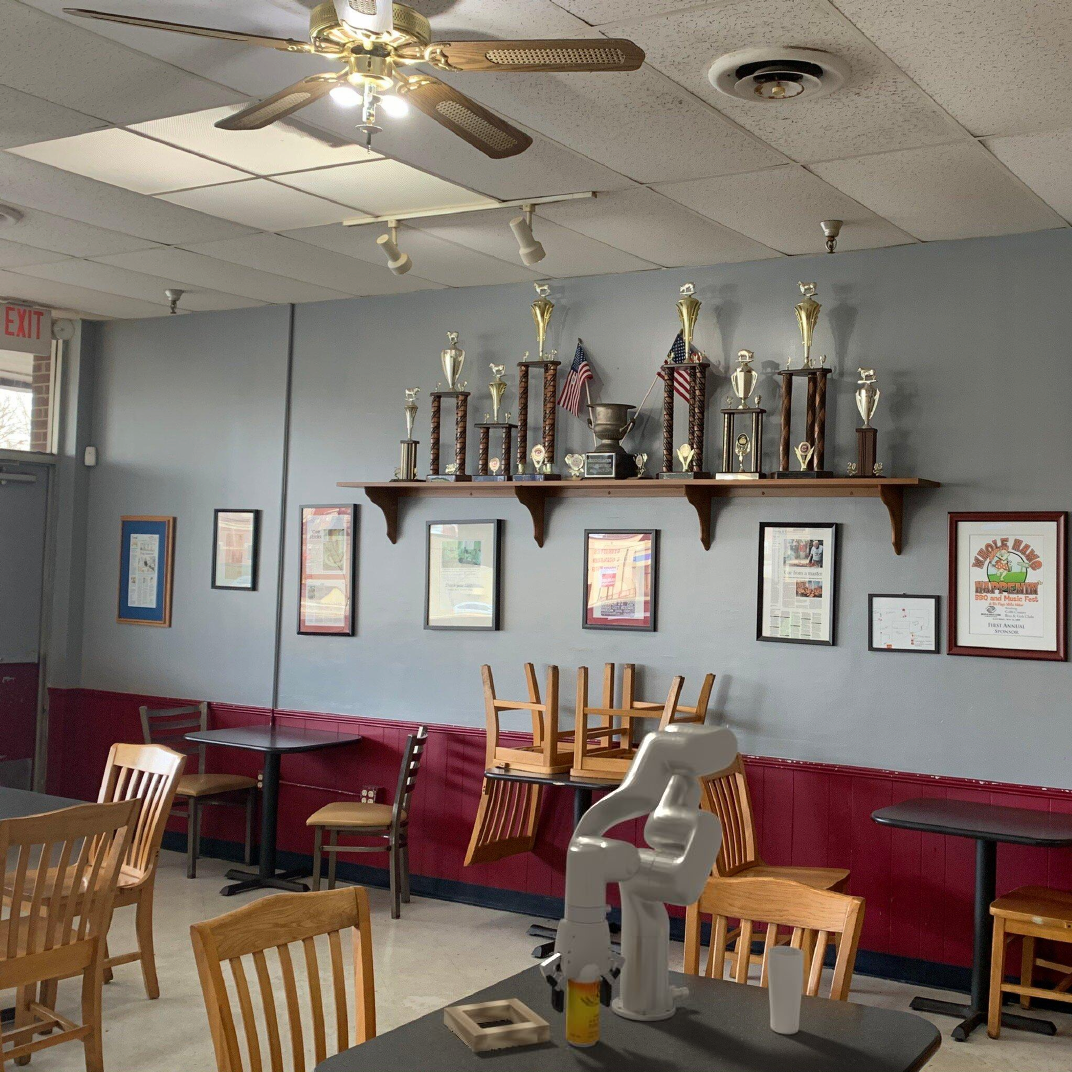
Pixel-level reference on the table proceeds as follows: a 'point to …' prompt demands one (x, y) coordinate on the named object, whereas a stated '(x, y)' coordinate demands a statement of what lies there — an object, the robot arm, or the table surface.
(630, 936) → the robot arm
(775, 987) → the drinking glass
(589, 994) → the beer can
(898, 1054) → the table surface
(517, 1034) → the can holder
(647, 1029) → the table surface
